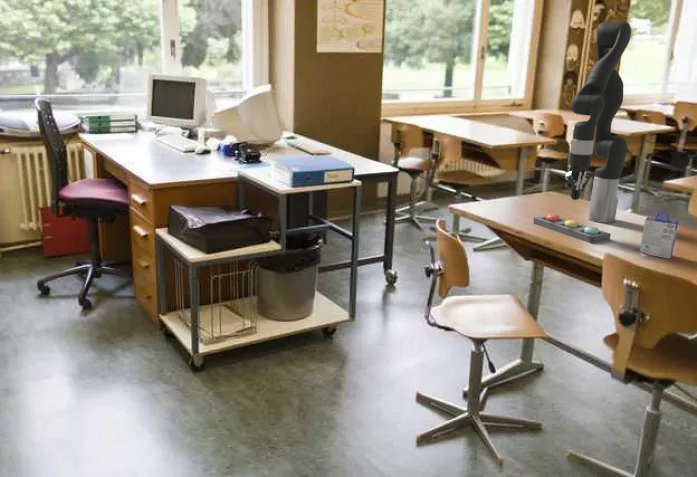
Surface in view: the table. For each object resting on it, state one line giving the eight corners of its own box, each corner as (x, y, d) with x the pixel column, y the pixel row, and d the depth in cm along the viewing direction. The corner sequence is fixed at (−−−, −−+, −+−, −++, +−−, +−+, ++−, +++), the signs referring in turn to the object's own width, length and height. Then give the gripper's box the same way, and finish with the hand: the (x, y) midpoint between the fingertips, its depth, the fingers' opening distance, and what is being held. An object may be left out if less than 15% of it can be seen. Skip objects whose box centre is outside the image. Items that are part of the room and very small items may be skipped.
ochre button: (561, 227, 253) (562, 221, 252) (570, 225, 255) (571, 219, 254) (571, 230, 249) (572, 224, 248) (580, 229, 251) (580, 222, 251)
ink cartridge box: (672, 255, 232) (680, 213, 228) (670, 259, 228) (678, 217, 223) (641, 249, 237) (648, 208, 233) (638, 253, 233) (646, 212, 228)
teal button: (581, 233, 245) (582, 227, 245) (589, 232, 248) (590, 225, 247) (591, 237, 242) (592, 230, 241) (600, 235, 244) (601, 229, 243)
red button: (543, 221, 260) (543, 214, 259) (551, 219, 262) (552, 213, 262) (552, 224, 256) (553, 218, 256) (561, 222, 259) (561, 216, 258)
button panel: (533, 225, 261) (534, 217, 260) (551, 222, 266) (552, 214, 265) (590, 245, 239) (591, 237, 238) (609, 241, 244) (610, 233, 243)
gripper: (585, 149, 250) (578, 195, 255) (560, 151, 243) (554, 198, 248) (602, 152, 244) (595, 199, 249) (577, 155, 237) (570, 203, 242)
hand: (574, 199), depth 249 cm, fingers closed
